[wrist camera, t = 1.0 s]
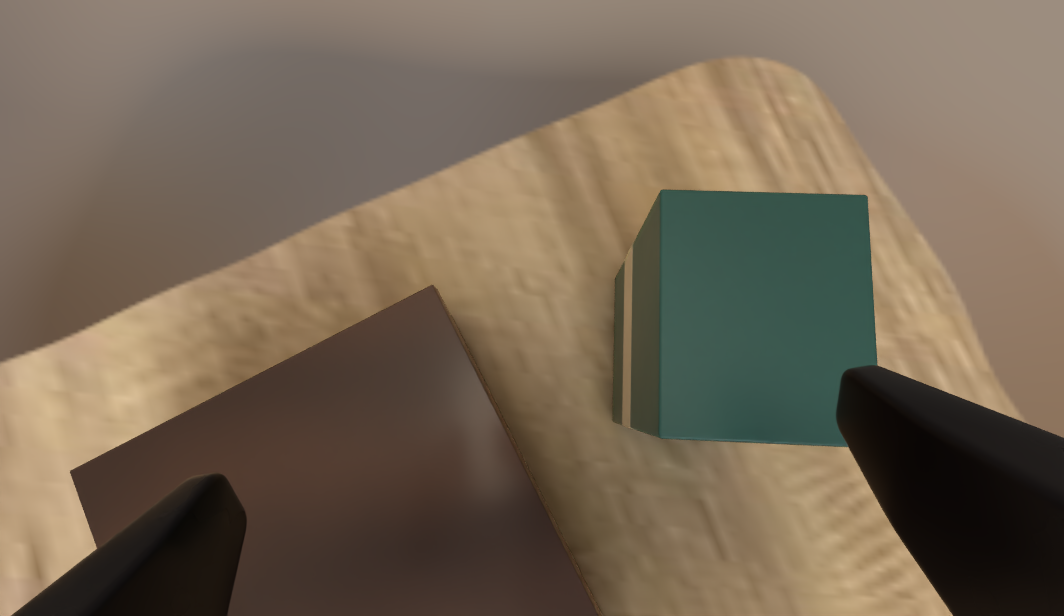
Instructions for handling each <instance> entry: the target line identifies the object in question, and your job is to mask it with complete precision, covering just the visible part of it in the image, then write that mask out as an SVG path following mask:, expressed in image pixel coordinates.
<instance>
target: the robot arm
mask: <svg viewBox="0 0 1064 616" xmlns="http://www.w3.org/2000/svg"><path fill="white" fill-rule="evenodd" d="M836 421H837V425H838V428H839V430H840V432H841V434H842V436H843V438H844V440H845V442H846V443H847V445H848V447H849V449H850V451H851V453H852V454H853V456H854V458H855V460H856V462H857V464H858V465H859V467H860V469H861V471H862V473H863V475H864V477H865V478H866V480H867V482H868V484H869V486H870V488H871V489H872V491H873V493H874V495H875V497H876V499H877V500H878V502H879V504H880V506H881V508H882V510H883V511H884V513H885V515H886V516H887V518H888V520H889V522H890V523H891V525H892V526H893V528H894V530H895V531H896V533H897V534H898V536H899V537H900V539H901V540H902V542H903V543H904V545H905V546H906V548H907V549H908V551H909V552H910V553H911V555H912V556H913V558H914V559H915V561H916V562H917V564H918V565H919V567H920V568H921V569H922V571H923V572H924V574H925V575H926V577H927V578H928V580H929V581H930V583H931V584H932V585H933V587H934V588H935V590H936V591H937V593H938V594H939V596H940V597H941V599H942V600H943V601H944V603H945V604H946V606H947V607H948V609H949V610H950V612H951V613H952V615H953V616H1064V438H1062V437H1060V436H1057V435H1055V434H1052V433H1050V432H1047V431H1045V430H1042V429H1040V428H1037V427H1034V426H1032V425H1029V424H1027V423H1024V422H1022V421H1019V420H1016V419H1014V418H1011V417H1009V416H1006V415H1004V414H1001V413H998V412H996V411H993V410H991V409H988V408H986V407H983V406H980V405H978V404H975V403H973V402H970V401H967V400H965V399H962V398H960V397H957V396H955V395H952V394H949V393H947V392H944V391H942V390H939V389H937V388H934V387H931V386H929V385H926V384H924V383H921V382H919V381H916V380H913V379H911V378H908V377H906V376H903V375H900V374H898V373H895V372H893V371H890V370H888V369H885V368H882V367H880V366H877V365H868V366H862V367H856V368H850V369H847V370H846V371H844V373H843V374H842V377H841V381H840V388H839V395H838V402H837V409H836ZM246 528H247V516H246V512H245V509H244V507H243V506H242V504H241V502H240V500H239V499H238V497H237V495H236V493H235V492H234V490H233V488H232V486H231V485H230V483H229V481H228V479H227V478H226V476H224V475H223V474H221V473H217V472H215V473H209V474H202V475H196V476H192V477H190V478H188V479H186V480H185V481H184V482H182V483H181V484H180V485H179V486H177V487H176V488H175V489H173V490H172V491H171V492H170V493H168V494H167V495H166V496H164V497H163V498H162V499H161V500H159V501H158V502H157V503H155V504H154V505H153V506H152V507H150V508H149V509H148V510H146V511H145V512H144V513H143V514H141V515H140V516H139V517H137V518H136V519H135V520H134V521H132V522H131V523H130V524H128V525H127V526H126V527H125V528H123V529H122V530H121V531H119V532H118V533H117V534H116V535H114V536H113V537H112V538H110V539H109V540H108V541H107V542H105V543H104V544H103V545H101V546H100V547H99V548H98V549H96V550H95V551H94V552H92V553H91V554H90V555H89V556H87V557H86V558H85V559H83V560H82V561H81V562H80V563H78V564H77V565H76V566H74V567H73V568H72V569H70V570H69V571H68V572H67V573H65V574H64V575H63V576H61V577H60V578H59V579H58V580H56V581H55V582H54V583H52V584H51V585H50V586H49V587H47V588H46V589H45V590H43V591H42V592H41V593H40V594H38V595H37V596H36V597H34V598H33V599H32V600H31V601H29V602H28V603H27V604H25V605H24V606H23V607H22V608H20V609H19V610H18V611H16V612H15V613H14V614H13V615H11V616H227V614H228V610H229V605H230V601H231V596H232V592H233V587H234V583H235V578H236V573H237V569H238V564H239V560H240V555H241V551H242V546H243V542H244V537H245V533H246Z"/></svg>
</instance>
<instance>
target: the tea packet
mask: <svg viewBox="0 0 1064 616" xmlns="http://www.w3.org/2000/svg"><path fill="white" fill-rule="evenodd" d="M868 365H877V351H876V334H875V317H874V300H873V282H872V265H871V248H870V231H869V213H868V197H867V196H866V195H844V194H807V193H770V192H733V191H695V190H661V191H660V193H659V194H658V196H657V198H656V200H655V202H654V204H653V206H652V208H651V210H650V212H649V214H648V216H647V218H646V220H645V222H644V224H643V226H642V227H641V229H640V231H639V233H638V235H637V237H636V239H635V241H634V243H632V245H631V247H630V249H629V251H628V253H627V255H626V257H625V260H624V262H623V264H622V266H621V268H620V270H619V272H618V274H617V276H616V278H615V314H614V368H613V422H615V423H618V424H621V425H623V426H625V427H627V428H630V429H635V430H638V431H641V432H644V433H647V434H650V435H652V436H655V437H658V438H661V439H679V440H701V441H723V442H745V443H767V444H789V445H811V446H833V447H848V445H847V443H846V442H845V440H844V438H843V436H842V434H841V432H840V430H839V428H838V425H837V421H836V409H837V402H838V395H839V388H840V381H841V377H842V374H843V373H844V371H846V370H847V369H850V368H856V367H862V366H868Z"/></svg>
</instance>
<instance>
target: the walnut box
mask: <svg viewBox="0 0 1064 616" xmlns="http://www.w3.org/2000/svg"><path fill="white" fill-rule="evenodd" d="M215 472H217V473H221V474H223V475H224V476H226V478H227V479H228V481H229V483H230V485H231V486H232V488H233V490H234V492H235V493H236V495H237V497H238V499H239V500H240V502H241V504H242V506H243V507H244V509H245V512H246V516H247V528H246V533H245V537H244V542H243V546H242V551H241V555H240V560H239V564H238V569H237V573H236V578H235V583H234V587H233V592H232V596H231V601H230V605H229V610H228V614H227V616H602V614H601V612H600V610H599V608H598V606H597V604H596V602H595V600H594V598H593V596H592V594H591V592H590V590H589V588H588V586H587V584H586V582H585V580H584V578H583V576H582V574H581V572H580V570H579V568H578V566H577V564H576V562H575V560H574V558H573V556H572V554H571V552H570V550H569V548H568V546H567V544H566V542H565V540H564V538H563V536H562V534H561V532H560V530H559V528H558V526H557V524H556V523H555V521H554V519H553V517H552V515H551V513H550V511H549V509H548V507H547V505H546V503H545V501H544V499H543V497H542V495H541V493H540V491H539V489H538V487H537V485H536V483H535V481H534V479H533V477H532V475H531V473H530V471H529V469H528V467H527V465H526V463H525V461H524V459H523V457H522V455H521V453H520V451H519V449H518V447H517V445H516V443H515V441H514V439H513V437H512V435H511V433H510V431H509V429H508V427H507V425H506V423H505V421H504V419H503V417H502V415H501V413H500V411H499V409H498V407H497V405H496V403H495V401H494V399H493V397H492V395H491V393H490V391H489V389H488V387H487V385H486V383H485V381H484V379H483V377H482V375H481V373H480V371H479V369H478V367H477V365H476V363H475V361H474V359H473V357H472V355H471V353H470V351H469V349H468V347H467V345H466V343H465V341H464V339H463V337H462V335H461V333H460V331H459V329H458V327H457V325H456V323H455V321H454V320H453V318H452V316H451V315H450V313H449V311H448V309H447V307H446V305H445V303H444V301H443V299H442V297H441V295H440V293H439V291H438V289H436V288H435V287H434V286H433V285H431V286H429V287H427V288H425V289H423V290H421V291H419V292H417V293H415V294H413V295H411V296H409V297H407V298H405V299H403V300H401V301H399V302H398V303H396V304H394V305H392V306H390V307H388V308H386V309H384V310H382V311H380V312H378V313H376V314H374V315H372V316H370V317H368V318H366V319H365V320H363V321H361V322H359V323H357V324H355V325H353V326H351V327H349V328H347V329H345V330H343V331H341V332H339V333H337V334H335V335H333V336H331V337H330V338H328V339H326V340H324V341H322V342H320V343H318V344H316V345H314V346H312V347H310V348H308V349H306V350H304V351H302V352H300V353H298V354H296V355H295V356H293V357H291V358H289V359H287V360H285V361H283V362H281V363H279V364H277V365H275V366H273V367H271V368H269V369H267V370H265V371H263V372H261V373H260V374H258V375H256V376H254V377H252V378H250V379H248V380H246V381H244V382H242V383H240V384H238V385H236V386H234V387H232V388H230V389H228V390H226V391H225V392H223V393H221V394H219V395H217V396H215V397H213V398H211V399H209V400H207V401H205V402H203V403H201V404H199V405H197V406H195V407H193V408H191V409H190V410H188V411H186V412H184V413H182V414H180V415H178V416H176V417H174V418H172V419H170V420H168V421H166V422H164V423H162V424H160V425H158V426H157V427H155V428H153V429H151V430H149V431H147V432H145V433H143V434H141V435H139V436H137V437H135V438H133V439H131V440H129V441H127V442H125V443H123V444H122V445H120V446H118V447H116V448H114V449H112V450H110V451H108V452H106V453H104V454H102V455H100V456H98V457H96V458H94V459H92V460H90V461H88V462H87V463H85V464H83V465H81V466H79V467H77V468H75V469H73V470H71V471H70V474H71V476H72V479H73V482H74V485H75V488H76V490H77V493H78V496H79V499H80V502H81V504H82V507H83V510H84V513H85V516H86V518H87V521H88V524H89V527H90V530H91V532H92V535H93V538H94V541H95V543H96V546H97V549H98V548H99V547H100V546H101V545H103V544H104V543H105V542H107V541H108V540H109V539H110V538H112V537H113V536H114V535H116V534H117V533H118V532H119V531H121V530H122V529H123V528H125V527H126V526H127V525H128V524H130V523H131V522H132V521H134V520H135V519H136V518H137V517H139V516H140V515H141V514H143V513H144V512H145V511H146V510H148V509H149V508H150V507H152V506H153V505H154V504H155V503H157V502H158V501H159V500H161V499H162V498H163V497H164V496H166V495H167V494H168V493H170V492H171V491H172V490H173V489H175V488H176V487H177V486H179V485H180V484H181V483H182V482H184V481H185V480H186V479H188V478H190V477H192V476H196V475H202V474H209V473H215Z"/></svg>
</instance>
